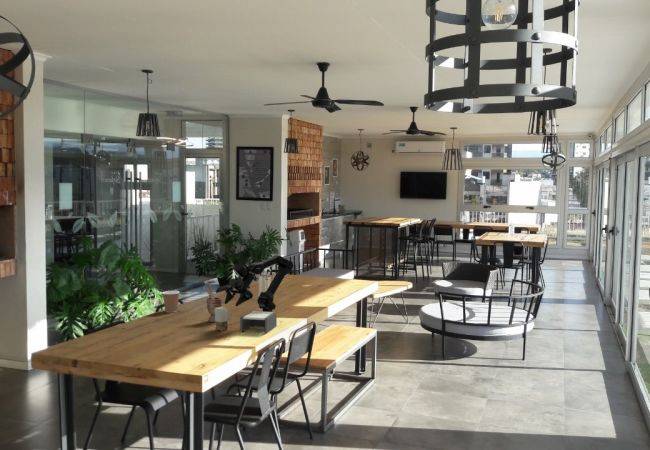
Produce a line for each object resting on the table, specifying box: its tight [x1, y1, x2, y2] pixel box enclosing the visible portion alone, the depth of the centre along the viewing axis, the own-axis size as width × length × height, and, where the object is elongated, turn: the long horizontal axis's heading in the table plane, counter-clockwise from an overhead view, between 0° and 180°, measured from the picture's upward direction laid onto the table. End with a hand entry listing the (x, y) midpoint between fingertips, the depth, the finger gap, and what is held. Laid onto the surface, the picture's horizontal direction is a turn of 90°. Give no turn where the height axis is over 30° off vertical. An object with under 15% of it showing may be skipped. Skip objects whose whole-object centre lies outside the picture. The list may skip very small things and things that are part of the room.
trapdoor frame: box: [239, 310, 278, 334], centre depth 340 cm, size 16×15×8 cm
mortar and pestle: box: [205, 285, 223, 323], centre depth 360 cm, size 12×9×20 cm
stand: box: [215, 321, 228, 332], centre depth 338 cm, size 4×4×5 cm
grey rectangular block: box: [215, 306, 229, 322], centre depth 338 cm, size 5×5×7 cm
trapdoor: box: [243, 310, 274, 320], centre depth 340 cm, size 16×12×3 cm
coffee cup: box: [162, 290, 180, 313], centre depth 387 cm, size 10×10×12 cm
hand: (230, 304), depth 342 cm, fingers open, 9 cm apart
